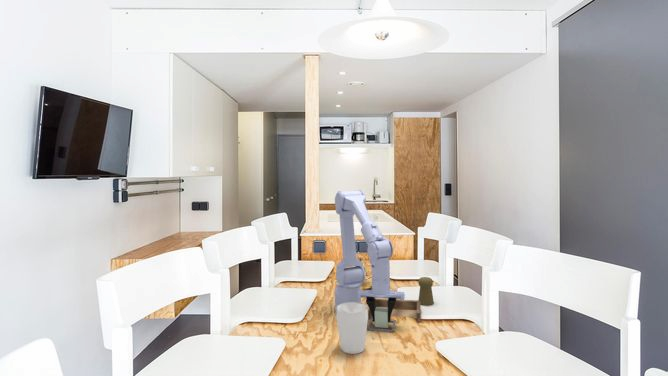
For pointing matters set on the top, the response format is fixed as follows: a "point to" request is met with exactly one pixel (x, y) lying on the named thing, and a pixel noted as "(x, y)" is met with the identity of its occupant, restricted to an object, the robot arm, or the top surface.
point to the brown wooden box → (401, 308)
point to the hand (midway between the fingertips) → (381, 320)
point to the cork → (425, 291)
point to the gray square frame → (381, 329)
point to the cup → (352, 326)
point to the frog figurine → (365, 284)
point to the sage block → (381, 317)
